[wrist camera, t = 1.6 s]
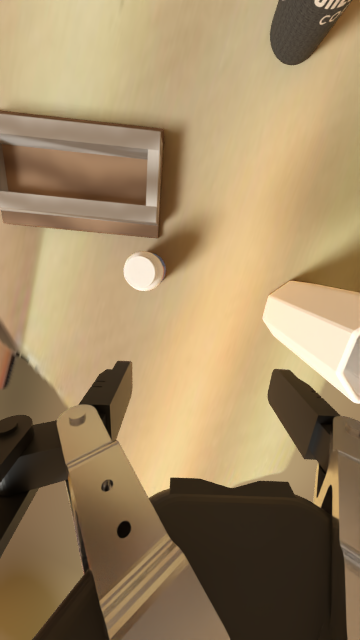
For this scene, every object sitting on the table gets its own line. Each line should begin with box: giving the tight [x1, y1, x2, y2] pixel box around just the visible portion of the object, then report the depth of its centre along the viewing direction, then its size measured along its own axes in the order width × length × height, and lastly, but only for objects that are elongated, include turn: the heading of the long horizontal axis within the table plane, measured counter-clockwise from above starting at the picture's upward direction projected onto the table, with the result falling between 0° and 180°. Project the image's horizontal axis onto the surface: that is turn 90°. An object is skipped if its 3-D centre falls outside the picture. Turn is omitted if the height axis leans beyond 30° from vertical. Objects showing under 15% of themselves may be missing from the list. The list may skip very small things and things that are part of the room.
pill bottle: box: [124, 251, 166, 291], centre depth 30 cm, size 6×5×10 cm
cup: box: [263, 281, 360, 403], centre depth 28 cm, size 11×11×18 cm
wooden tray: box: [0, 111, 164, 238], centre depth 28 cm, size 14×24×4 cm, turn 85°
